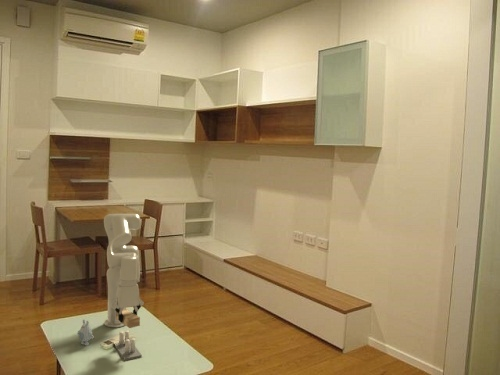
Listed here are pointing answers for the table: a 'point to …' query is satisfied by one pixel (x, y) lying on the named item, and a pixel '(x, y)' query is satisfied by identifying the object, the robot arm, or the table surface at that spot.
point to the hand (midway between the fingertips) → (127, 320)
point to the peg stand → (127, 347)
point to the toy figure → (85, 333)
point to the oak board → (129, 318)
